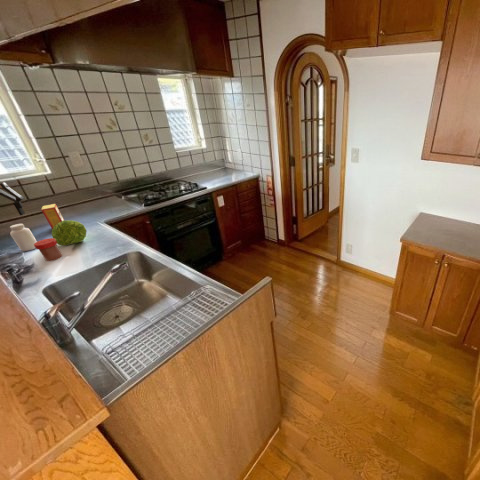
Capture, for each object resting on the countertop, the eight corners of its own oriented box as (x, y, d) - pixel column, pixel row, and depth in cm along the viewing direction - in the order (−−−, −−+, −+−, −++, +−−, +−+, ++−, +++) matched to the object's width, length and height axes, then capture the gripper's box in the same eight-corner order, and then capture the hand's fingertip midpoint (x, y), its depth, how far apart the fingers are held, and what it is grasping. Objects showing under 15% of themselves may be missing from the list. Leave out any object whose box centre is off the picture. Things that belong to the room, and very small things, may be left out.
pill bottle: (36, 244, 161) (22, 221, 154) (42, 246, 158) (28, 223, 151) (18, 249, 155) (3, 227, 148) (24, 252, 152) (9, 229, 145)
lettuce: (61, 245, 167) (93, 239, 176) (51, 248, 147) (87, 242, 155) (54, 222, 164) (87, 217, 173) (42, 222, 144) (80, 218, 153)
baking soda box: (54, 226, 184) (42, 205, 176) (66, 224, 187) (55, 203, 180) (53, 231, 177) (40, 209, 170) (65, 228, 181) (54, 206, 173)
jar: (44, 265, 138) (33, 247, 133) (50, 259, 144) (39, 241, 139) (61, 262, 141) (51, 244, 136) (66, 256, 147) (56, 238, 142)
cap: (59, 240, 143) (57, 236, 142) (53, 247, 136) (51, 243, 135) (40, 243, 140) (38, 240, 139) (33, 250, 133) (30, 246, 132)
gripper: (-68, 179, 113) (-36, 224, 123) (9, 172, 122) (33, 214, 132) (-55, 175, 119) (-26, 218, 129) (18, 169, 128) (40, 210, 138)
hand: (4, 216), depth 131 cm, fingers open, 13 cm apart
